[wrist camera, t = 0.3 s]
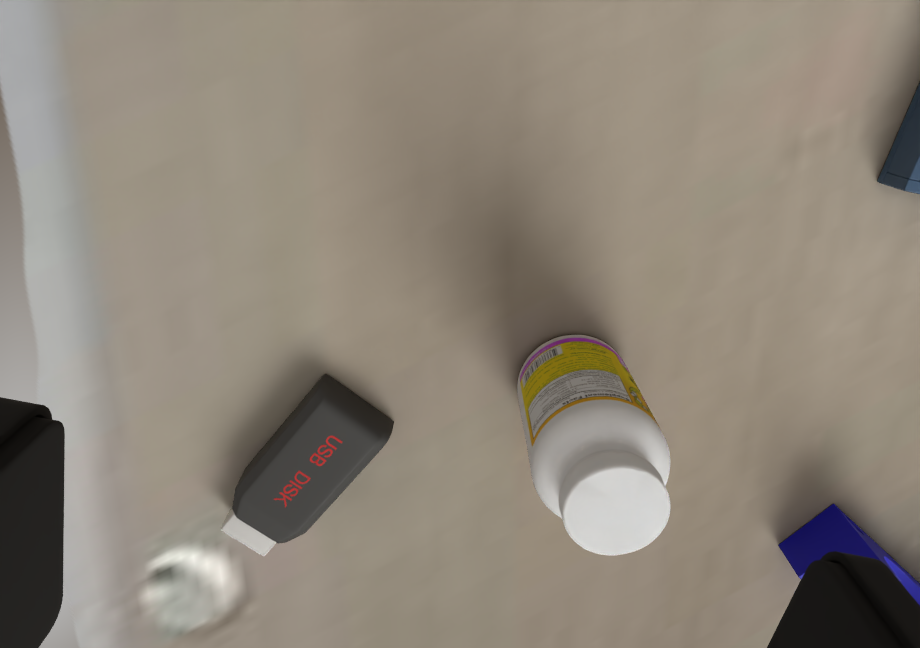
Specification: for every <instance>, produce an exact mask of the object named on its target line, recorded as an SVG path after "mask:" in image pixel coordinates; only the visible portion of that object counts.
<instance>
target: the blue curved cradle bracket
mask: <svg viewBox="0 0 920 648" xmlns="http://www.w3.org/2000/svg"><path fill="white" fill-rule="evenodd" d="M778 546H779V547H780V549H781V550H782V552H783V553H784V555H785V557H786V558H787V560H788V561H789V563H790V564H791V566H792V567H793V569H794V571H795V572H796V574H797V575H798V577H799V578H800V579H802V577H803V575H804V573H805V571H806V569H807V568H808V566H809V565H810V563H812V562H813V561H815V560H820V559H821V558H822V556H824V555H825V554H826V553H828V552H833V551H837V552H842V553H848V554H853V555H859V556H864V557H869V558H874V559H877V560H880V561H882V562H883V563H884V564H885V565H886V566H887V567H888V568H889V569H890V570H891V571H892V573H893V574H894V575H895V576H896V577H897V579H898V580H899V581H900V582H901V584H902V585H903V586H904V587H905V588H906V590H907V591H908V592H909V593H910V594H911V596H912V597H913V598H914V599H915V600H916V602H917V603H918V604H919V605H920V584H919V583H918V582H917V581H916V580H915V579H914V578H913V577H912V576H911V575H910V574H909V573H908V572H907V571H905V570H904V569H903V568H902V567H901V566H900V565H899V564H898V563H897V562H896V561H895V560H894V559H893V558H892V557H890V556H889V555H888V554H887V553H886V552H885V551H884V550H883V549H882V548H881V547H880V546H879V545H878V544H877V543H875V542H874V541H873V540H872V539H871V538H870V537H869V536H868V535H867V534H866V533H865V532H864V531H863V530H862V529H860V528H859V527H858V526H857V525H856V524H855V523H854V522H853V521H852V520H851V519H850V518H849V517H848V516H847V515H845V514H844V513H843V512H842V511H841V510H840V509H839V508H838V507H837V506H836V505H835V504H832V505H831V506H830V507H828V508H827V509H826V510H824V511H823V512H822V513H820V514H819V515H818V516H816V517H815V518H814V519H812V520H811V521H810V522H808V523H807V524H806V525H804V526H803V527H802V528H800V529H799V530H798V531H796V532H795V533H794V534H792V535H791V536H790V537H788V538H787V539H786V540H784V541H783V542H782V543H780V544H779V545H778Z"/></svg>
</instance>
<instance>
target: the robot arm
mask: <svg viewBox="0 0 920 648" xmlns="http://www.w3.org/2000/svg"><path fill="white" fill-rule="evenodd" d="M64 437H65V434H64V427H63V424H62V423H61V422H59V421H56V420H52V415H51V413H50V410H49V408H47V407H46V406H44V405H39V404H33V403H28V402H22V401H17V400H11V399H6V398H1V397H0V648H38V647H39V646H40V645H41V643H42V642H43V640H44V639H45V638H46V636H47V635H48V633H49V632H50V630H51V628H52V627H53V625H54V623H55V621H56V619H57V617H58V614H59V611H60V608H61V604H62V597H63V528H64ZM767 648H920V605H919V604H918V603H917V602H916V600H915V599H914V598H913V597H912V596H911V594H910V593H909V592H908V591H907V590H906V588H905V587H904V586H903V585H902V584H901V582H900V581H899V580H898V579H897V577H896V576H895V575H894V574H893V573H892V571H891V570H890V569H889V568H888V567H887V566H886V565H885V564H884V563H883V562H882V561H880V560H877V559H874V558H869V557H864V556H859V555H853V554H848V553H842V552H837V551H833V552H828V553H826V554H825V555H824V556H822V558H821V559H820V560H815V561H813V562H812V563H810V565H809V566H808V568H807V569H806V571H805V573H804V575H803V577H802V579H801V581H800V583H799V585H798V587H797V589H796V591H795V593H794V595H793V597H792V599H791V601H790V603H789V605H788V607H787V609H786V611H785V613H784V615H783V617H782V619H781V621H780V623H779V625H778V627H777V629H776V631H775V633H774V635H773V637H772V639H771V641H770V643H769V645H768V647H767Z"/></svg>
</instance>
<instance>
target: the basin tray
mask: <svg viewBox="0 0 920 648" xmlns="http://www.w3.org/2000/svg"><path fill="white" fill-rule="evenodd" d="M877 182H879V183H882V184H885V185H888V186H891V187H894V188H897V189H901V190H904V191H908V192H912V193H917V194H920V83H919V85H918V88H917V90H916V92H915V95H914V97H913V99H912V102H911V104H910V106H909V109H908V111H907V113H906V116H905V118H904V120H903V123H902V125H901V127H900V130H899V132H898V134H897V136H896V139H895V141H894V143H893V146H892V148H891V150H890V153H889V155H888V157H887V160H886V162H885V164H884V167H883V169H882V171H881V174H880V176H879V178H878V181H877Z"/></svg>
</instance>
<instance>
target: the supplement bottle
mask: <svg viewBox="0 0 920 648" xmlns="http://www.w3.org/2000/svg"><path fill="white" fill-rule="evenodd" d="M517 393H518V400H519V406H520V412H521V417H522V422H523V428H524V433H525V439H526V444H527V450H528V456H529V462H530V468H531V474H532V479H533V483H534V486H535V489H536V491H537V493H538V495H539V496H540V498H541V500H542V501H543V502H544V504H545V505H546V506H547V507H548V508H549V509H550V510H551V511H552V512H553V513H555V514H556V515H557V516H559V517H560V518H562V519H563V523H564V526H565V528H566V531H567V532H568V534H569V536H570V537H571V538H572V539H573V540H574V541H575V542H576V543H577V544H578V545H580V546H581V547H583V548H584V549H586V550H588V551H591V552H593V553H597V554H602V555H622V554H626V553H630V552H634V551H637V550H639V549H641V548H643V547H645V546H646V545H648V544H649V543H651V542H652V541H653V540H655V539H656V538H657V537H658V536H659V534H660V533H661V532H662V530H663V529H664V527H665V526H666V524H667V521H668V519H669V515H670V498H669V494H668V491H667V489H666V487H665V486H666V483H667V480H668V477H669V472H670V453H669V448H668V445H667V442H666V439H665V437H664V435H663V433H662V431H661V429H660V427H659V425H658V424H657V422H656V420H655V418H654V416H653V415H652V413H651V411H650V409H649V407H648V405H647V404H646V402H645V400H644V398H643V396H642V394H641V393H640V390H639V389H638V387H637V385H636V383H635V381H634V379H633V378H632V376H631V374H630V372H629V370H628V368H627V367H626V365H625V363H624V362H623V360H622V359H621V357H620V356H619V354H618V353H617V352H616V351H615V350H614V349H613V348H612V347H610V346H609V345H608V344H606V343H605V342H603V341H601V340H599V339H596V338H594V337H590V336H586V335H567V336H561V337H557V338H554V339H552V340H550V341H548V342H546V343H544V344H542V345H541V346H539V347H538V348H537V349H536V350H535V351H534V352H533V353H532V354H531V355H530V356H529V357H528V358H527V360H526V361H525V363H524V365H523V366H522V369H521V371H520V374H519V378H518V383H517Z"/></svg>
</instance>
